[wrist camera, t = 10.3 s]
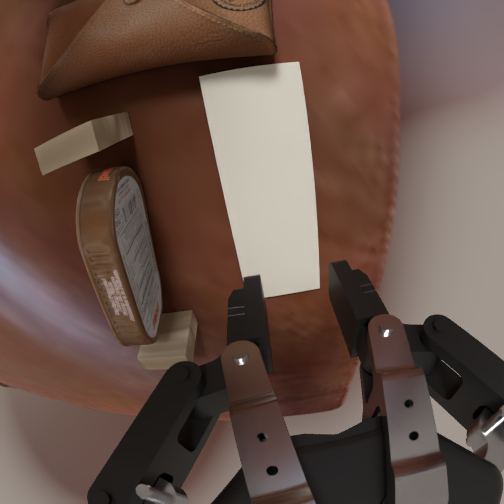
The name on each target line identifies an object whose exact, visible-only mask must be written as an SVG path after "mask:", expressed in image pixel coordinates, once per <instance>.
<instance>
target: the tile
mask: <svg viewBox="0 0 504 504" xmlns="http://www.w3.org/2000/svg"><path fill="white" fill-rule="evenodd" d="M199 80H200V85H201V90H202V95H203V99H204V104H205V109H206V114H207V119H208V124H209V128H210V133H211V138H212V143H213V147H214V152H215V157H216V161H217V166H218V171H219V175H220V180H221V184H222V189H223V193H224V198H225V202H226V207H227V211H228V216H229V220H230V225H231V229H232V234H233V238H234V242H235V247H236V251H237V255H238V260H239V264H240V268H241V273H242V277H243V278H244V277H247V276H253V275H259V274H260V277H261V282H262V287H263V293H264V298H266V297H272V296H278V295H284V294H290V293H296V292H302V291H307V290H313V289H318V288H320V281H319V250H318V229H317V213H316V198H315V186H314V174H313V163H312V153H311V144H310V135H309V127H308V119H307V111H306V104H305V97H304V90H303V84H302V77H301V71H300V65H299V62H290V63H279V64H269V65H261V66H253V67H247V68H240V69H234V70H229V71H223V72H218V73H213V74H208V75H204V76H199ZM243 281H244V280H243Z"/></svg>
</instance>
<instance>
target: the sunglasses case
mask: <svg viewBox="0 0 504 504" xmlns="http://www.w3.org/2000/svg"><path fill="white" fill-rule="evenodd" d="M47 23H48V33H47V38H46V43H45V49H44V55H43V62H42V69H41V77H40V84H39V85H38V87H37V92H36V93H37V95H38V96H39V97H40V98H41V99H42V100H51V99H52V98H55V97H58V96H61V95H64V94H66V93H69V92H72V91H74V90H78V89H80V88H84V87H86V86H89V85H92V84H96V83H99V82H102V81H106V80H109V79H112V78H116V77H119V76H123V75H127V74H131V73H134V72H139V71H143V70H148V69H153V68H157V67H163V66H168V65H175V64H180V63H188V62H195V61H204V60H211V59H222V58H233V57H247V56H263V55H275V54H276V52H277V46H276V45H275V38H274V30H273V20H272V7H271V0H75V1H73V2H70V3H68V4H65V5H63V6H61V7H58V8H57V9H55V10H53V11H51V12H50V13H49V15H48V21H47Z"/></svg>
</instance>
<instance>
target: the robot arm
mask: <svg viewBox="0 0 504 504" xmlns="http://www.w3.org/2000/svg"><path fill="white" fill-rule="evenodd" d="M243 280H244V289H238V290H233V292H232V293H231V295H230V297H229V299H228V325H227V346H226V347H225V349H224V350H223V352H222V354H221V356H220V357H219V358H217V359H216V360H214V361H212V362H209V363H206V364H204V365H201V366H198V365H197V364H195V363H194V362H191V361H181V362H178V363H175V364H173V365H172V366H171V367H170V368H169V369H168V370H167V371H166V373H165V374H164V376H163V377H162V379H161V380H160V382H159V383H158V385H157V387H156V388H155V390H154V391H153V393H152V394H151V396H150V397H149V399H148V400H147V402H146V403H145V405H144V406H143V408H142V409H141V411H140V412H139V414H138V415H137V417H136V419H135V420H134V421H133V423H132V424H131V426H130V428H129V429H128V431H127V432H126V434H125V435H124V437H123V438H122V440H121V441H120V443H119V445H118V446H117V447H116V449H115V450H114V452H113V453H112V455H111V456H110V458H109V460H108V461H107V463H106V464H105V466H104V467H103V469H102V470H101V472H100V473H99V475H98V476H97V478H96V480H95V481H94V483H93V484H92V486H91V487H90V489H89V491H88V495H87V499H88V504H188V497H187V494H186V493H185V492H184V490H183V489H182V488H181V487H182V485H183V483H184V481H185V479H186V478H187V476H188V474H189V472H190V470H191V469H192V467H193V465H194V463H195V461H196V459H197V458H198V456H199V454H200V452H201V450H202V448H203V446H204V445H205V443H206V441H207V439H208V437H209V435H210V433H211V431H212V429H213V427H214V425H215V423H216V421H217V419H218V418H219V416H220V413H223V412H226V411H228V410H229V413H230V418H231V422H232V427H233V431H234V436H235V440H236V444H237V448H238V452H239V456H240V461H241V464H242V467H241V469H240V470H239V471H238V472H237V474H236V475H235V476H234V477H233V479H232V480H231V481H230V482H229V483H228V485H227V486H226V487H225V488H224V489H223V490H222V492H221V493H220V494H219V495H218V496H217V497H216V499H215V500H214V501H213V502H212V503H211V504H500V500H501V496H502V491H503V478H502V475H501V472H502V470H503V469H504V361H503V360H502V359H500V358H499V357H498V356H497V355H496V354H494V353H493V352H492V351H491V350H489V349H488V348H487V347H486V346H484V345H483V344H482V343H481V342H479V341H478V340H477V339H475V338H474V337H473V336H471V335H470V334H469V333H467V332H466V331H465V330H464V329H462V328H461V327H459V326H458V325H457V324H456V323H454V322H453V321H452V320H450V319H449V318H447V317H445V316H443V315H431V316H429V317H428V318H427V319H426V320H425V322H424V324H423V325H408V324H402V322H401V321H400V320H399V319H398V318H397V317H395V316H393V315H389V313H388V311H387V309H386V308H385V306H384V304H383V302H382V300H381V299H380V297H379V295H378V293H377V292H376V291H375V288H374V286H373V285H372V283H371V281H370V280H369V278H368V276H367V275H366V274H365V273H363V272H362V271H360V270H359V269H357V270H351V268H350V266H349V264H348V262H347V261H346V260H343V261H337V262H332V263H329V296H330V301H331V304H332V306H333V309H334V312H335V315H336V317H337V320H338V323H339V325H340V328H341V331H342V334H343V336H344V339H345V342H346V345H347V348H348V351H349V354H350V356H351V358H354V357H358V356H359V359H360V362H361V364H360V379H361V388H362V399H363V415H362V422H361V423H359V424H357V425H355V426H353V427H351V428H349V429H348V430H345V431H344V432H341V433H339V434H335V435H328V434H327V435H326V434H300V435H294V436H290V435H289V432H288V429H287V426H286V424H285V421H284V418H283V415H282V412H281V409H280V406H279V404H278V401H277V398H276V396H275V394H274V392H273V389H272V386H271V383H270V380H269V375H268V373H274V370H273V361H272V353H271V344H270V335H269V327H268V318H267V310H266V304H265V298H264V293H263V287H262V282H261V277H260V274H259V275H253V276H247V277H244V278H243ZM441 360H443V361H444V362H445V363H446V364H448V365H449V366H450V367H451V368H452V369H454V370H455V371H456V372H457V373H458V374H459V375H460V376H461V377H460V376H459V375H458V374H457V373H456V372H454V371H453V370H452V369H451V368H450V367H449V366H447V365H446V364H445V363H444V362H443V361H441ZM430 396H431V397H432V398H433V399H434V400H435V401H436V402H438V403H439V404H440V405H441V406H442V407H443V408H444V409H445V410H446V411H447V412H448V413H449V414H450V415H451V416H453V417H454V418H455V419H456V420H457V421H458V422H459V423H460V424H461V425H462V426H463V427H464V428H465V429H466V430H467V438H466V444H467V445H468V446H470V447H472V449H473V451H474V453H472V452H471V451H469V450H467V449H465V448H464V447H462V446H460V445H458V444H456V443H454V442H453V441H451V440H449V439H447V438H446V437H444V436H442V435H441V434H439V433H437V431H436V425H435V419H434V414H433V409H432V405H431V400H430Z"/></svg>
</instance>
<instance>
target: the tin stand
mask: <svg viewBox="0 0 504 504" xmlns="http://www.w3.org/2000/svg"><path fill="white" fill-rule="evenodd" d="M132 135H133V131H132V127H131V123H130V119H129V115H128V111H127V112H123V113H118V114H114V115H110V116H106V117H102V118H98V119H94V120H91V121H88V122H86V123H84V124H82V125H79V126H77V127H75V128H73V129H71V130H69V131H67V132H65V133H63V134H61V135H59V136H57V137H55V138H53V139H51V140H49V141H47V142H45V143H44V144H42V145H40V146H38V147H36V148H35V149H34V150H35V153H36V157H37V160H38V163H39V167H40V170H41V173H42V176H43V175H45V174H47V173H49V172H51V171H54V170H56V169H58V168H60V167H62V166H65V165H67V164H69V163H72V162H74V161H76V160H79V159H81V158H84V157H86V156H89V155H91V154H94V153H96V152H99V151H101V150H103V149H105V148H107V147H109V146H111V145H113V144H115V143H117V142H119V141H121V140H123V139H126V138H128V137H130V136H132ZM197 326H198V322H197V320H196V318H195V315H194V313H193V310H188V311H180V312H171V313H162V316H161V319H160V326H159V331H158V339H157V341H156V342H155V343H153V344H150V345H140V349H139V352H138V356H137V359H138V360H139V362H140V363H141V364H142V366H143V367H144V368H145V370H162V369H169V368H170V367H171V366H172V365H173V364H175V363H178V362H181V361H191V362H193V358H194V349H195V341H196V333H197Z"/></svg>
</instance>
